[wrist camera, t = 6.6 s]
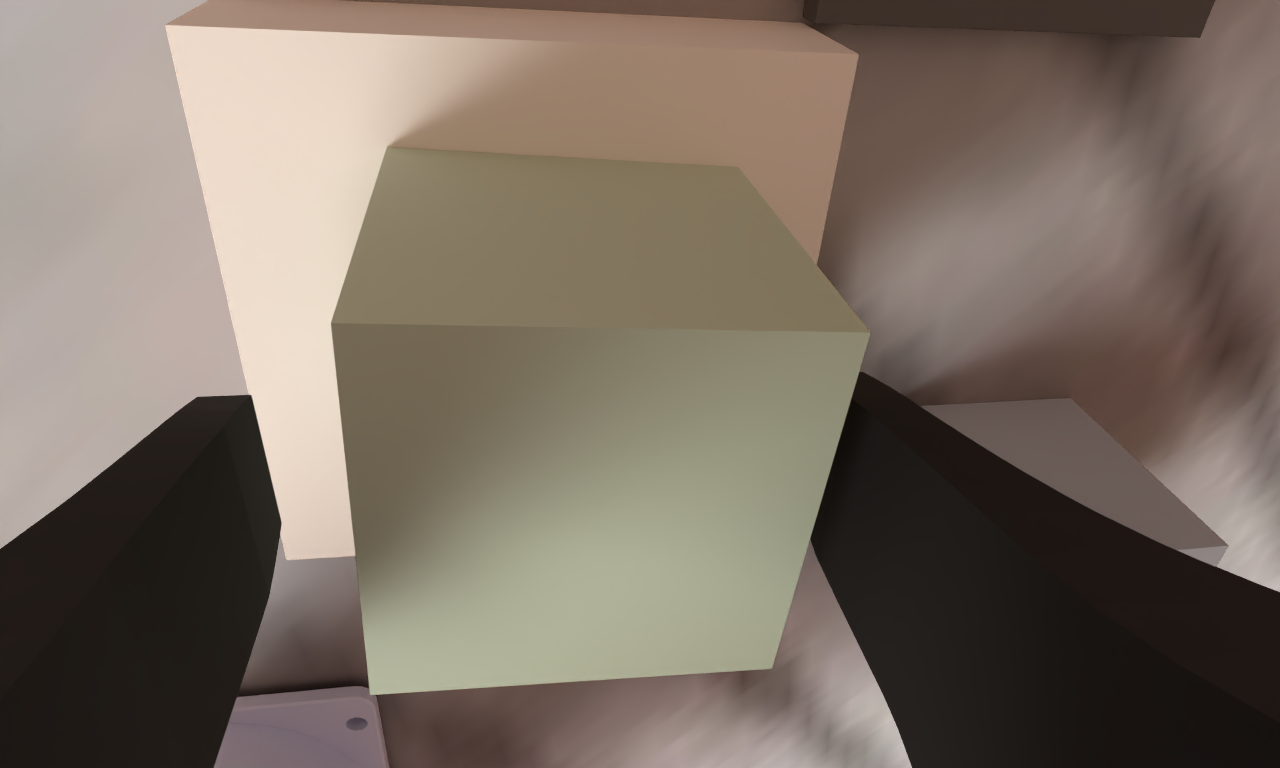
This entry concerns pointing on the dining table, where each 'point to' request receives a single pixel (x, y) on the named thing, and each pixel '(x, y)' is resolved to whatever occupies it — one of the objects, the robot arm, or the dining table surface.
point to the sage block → (581, 418)
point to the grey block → (1083, 467)
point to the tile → (1023, 15)
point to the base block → (456, 121)
